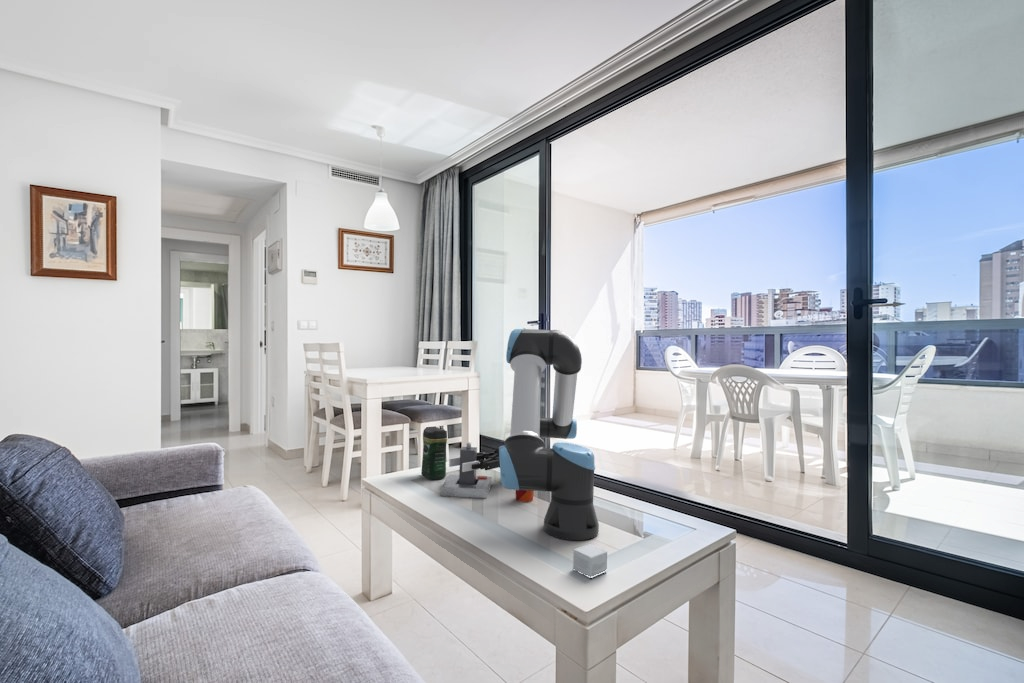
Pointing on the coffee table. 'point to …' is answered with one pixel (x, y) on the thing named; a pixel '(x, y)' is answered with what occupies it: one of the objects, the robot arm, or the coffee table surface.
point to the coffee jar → (434, 453)
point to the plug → (467, 456)
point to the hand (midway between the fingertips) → (456, 465)
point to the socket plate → (466, 487)
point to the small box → (589, 560)
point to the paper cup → (524, 495)
